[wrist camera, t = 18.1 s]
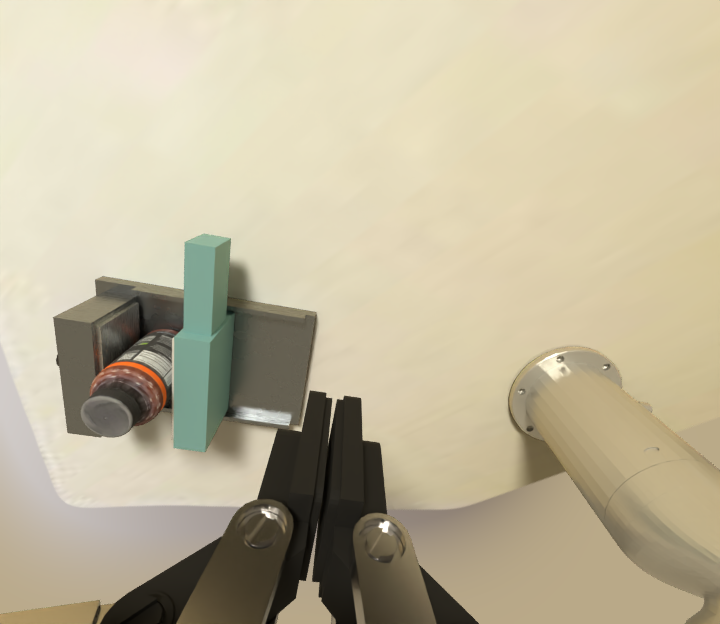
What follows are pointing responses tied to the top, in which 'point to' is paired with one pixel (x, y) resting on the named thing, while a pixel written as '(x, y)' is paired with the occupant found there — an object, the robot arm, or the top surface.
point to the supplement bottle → (131, 386)
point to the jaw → (202, 345)
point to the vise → (166, 311)
